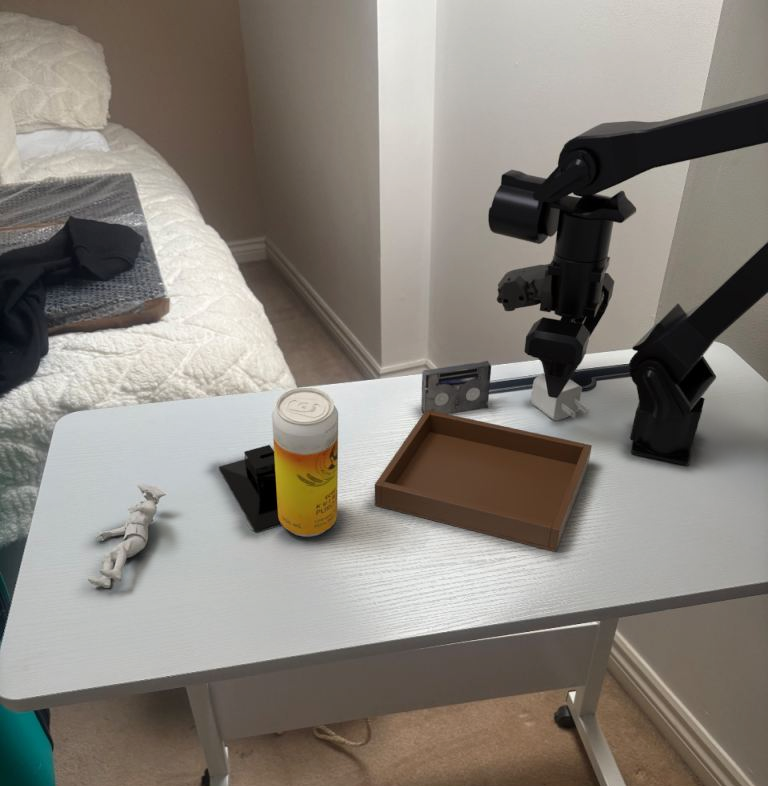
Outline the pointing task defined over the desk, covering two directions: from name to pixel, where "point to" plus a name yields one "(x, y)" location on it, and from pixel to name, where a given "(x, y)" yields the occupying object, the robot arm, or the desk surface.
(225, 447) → the desk surface
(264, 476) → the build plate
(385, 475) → the tray
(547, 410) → the usb wall charger
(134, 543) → the soldier figure
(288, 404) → the beer can
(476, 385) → the mini dv tape
